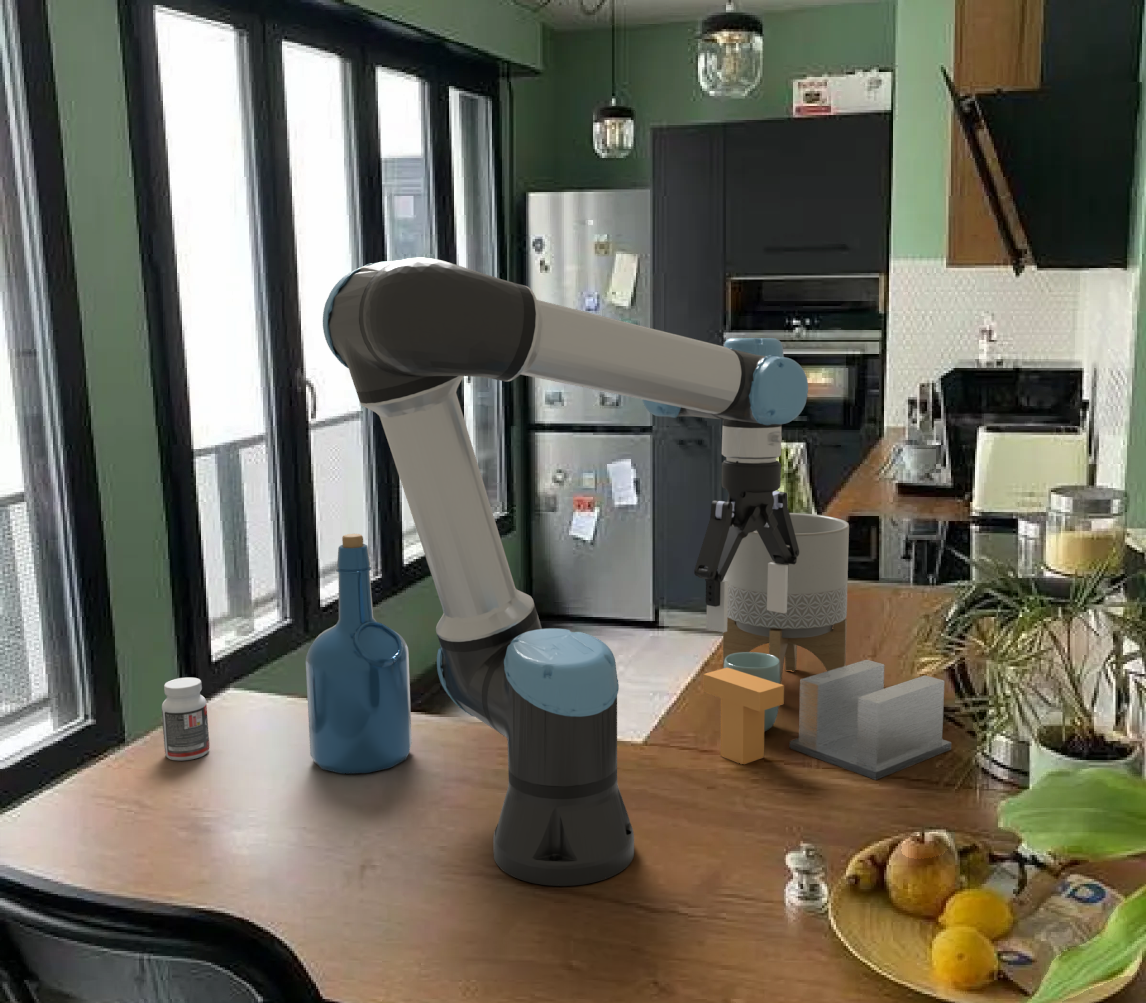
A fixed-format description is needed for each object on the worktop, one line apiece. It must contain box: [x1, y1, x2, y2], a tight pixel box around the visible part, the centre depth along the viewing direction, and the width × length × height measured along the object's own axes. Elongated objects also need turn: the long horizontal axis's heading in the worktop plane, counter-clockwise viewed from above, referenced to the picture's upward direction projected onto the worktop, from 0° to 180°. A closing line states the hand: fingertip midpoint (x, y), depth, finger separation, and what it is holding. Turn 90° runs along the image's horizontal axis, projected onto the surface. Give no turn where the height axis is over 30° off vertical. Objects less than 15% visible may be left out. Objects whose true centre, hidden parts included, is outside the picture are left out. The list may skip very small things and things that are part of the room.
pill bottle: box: [161, 677, 210, 762], centre depth 151 cm, size 6×6×10 cm
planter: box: [722, 512, 850, 685], centre depth 176 cm, size 19×19×26 cm
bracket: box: [788, 659, 952, 781], centre depth 150 cm, size 16×14×10 cm
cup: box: [724, 651, 780, 733], centre depth 158 cm, size 8×8×10 cm
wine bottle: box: [305, 533, 413, 775], centre depth 148 cm, size 14×13×30 cm
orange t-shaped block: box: [702, 668, 785, 765], centre depth 148 cm, size 4×10×10 cm, turn 38°
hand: (747, 620), depth 149 cm, fingers open, 13 cm apart
